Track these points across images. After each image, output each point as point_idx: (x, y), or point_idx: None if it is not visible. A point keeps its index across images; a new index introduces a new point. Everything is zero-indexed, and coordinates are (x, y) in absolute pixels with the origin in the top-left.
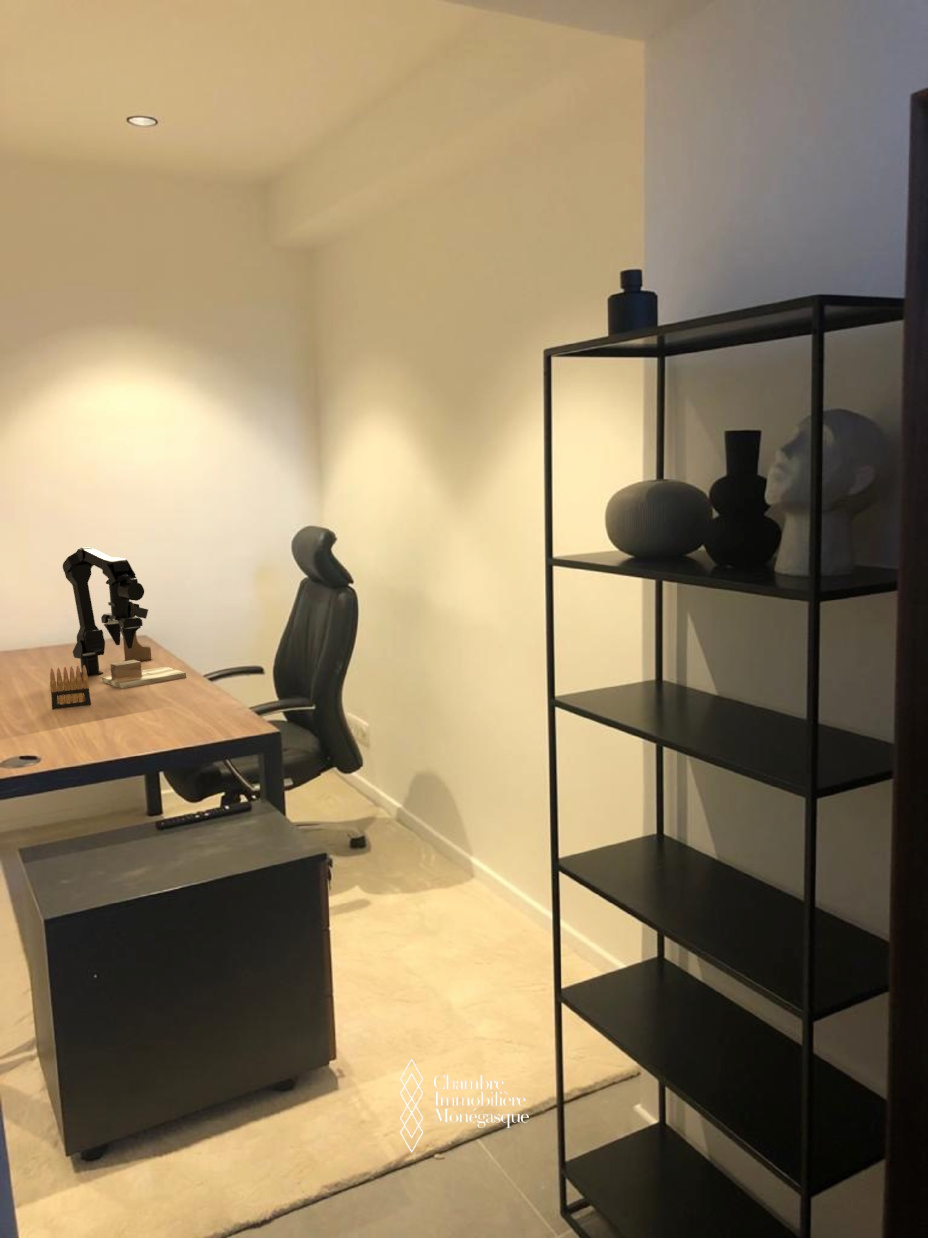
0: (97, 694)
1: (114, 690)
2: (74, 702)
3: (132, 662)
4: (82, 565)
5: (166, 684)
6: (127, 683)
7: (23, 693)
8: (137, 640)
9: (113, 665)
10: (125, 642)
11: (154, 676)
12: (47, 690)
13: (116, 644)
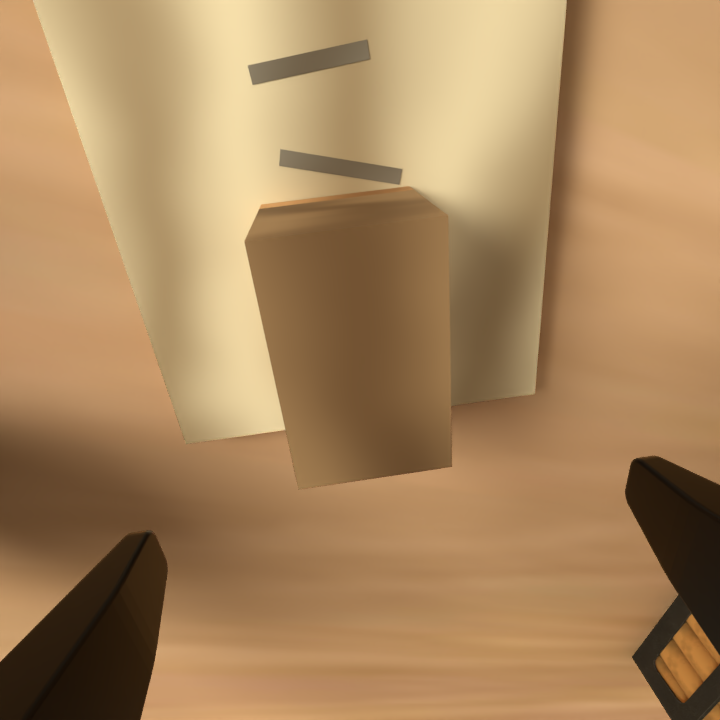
0: (548, 503)
1: (531, 418)
2: None
3: (418, 309)
4: None
5: (693, 36)
6: (535, 347)
7: (245, 715)
8: None
9: (376, 472)
10: (710, 620)
11: (488, 72)
12: (248, 653)
13: (164, 580)
